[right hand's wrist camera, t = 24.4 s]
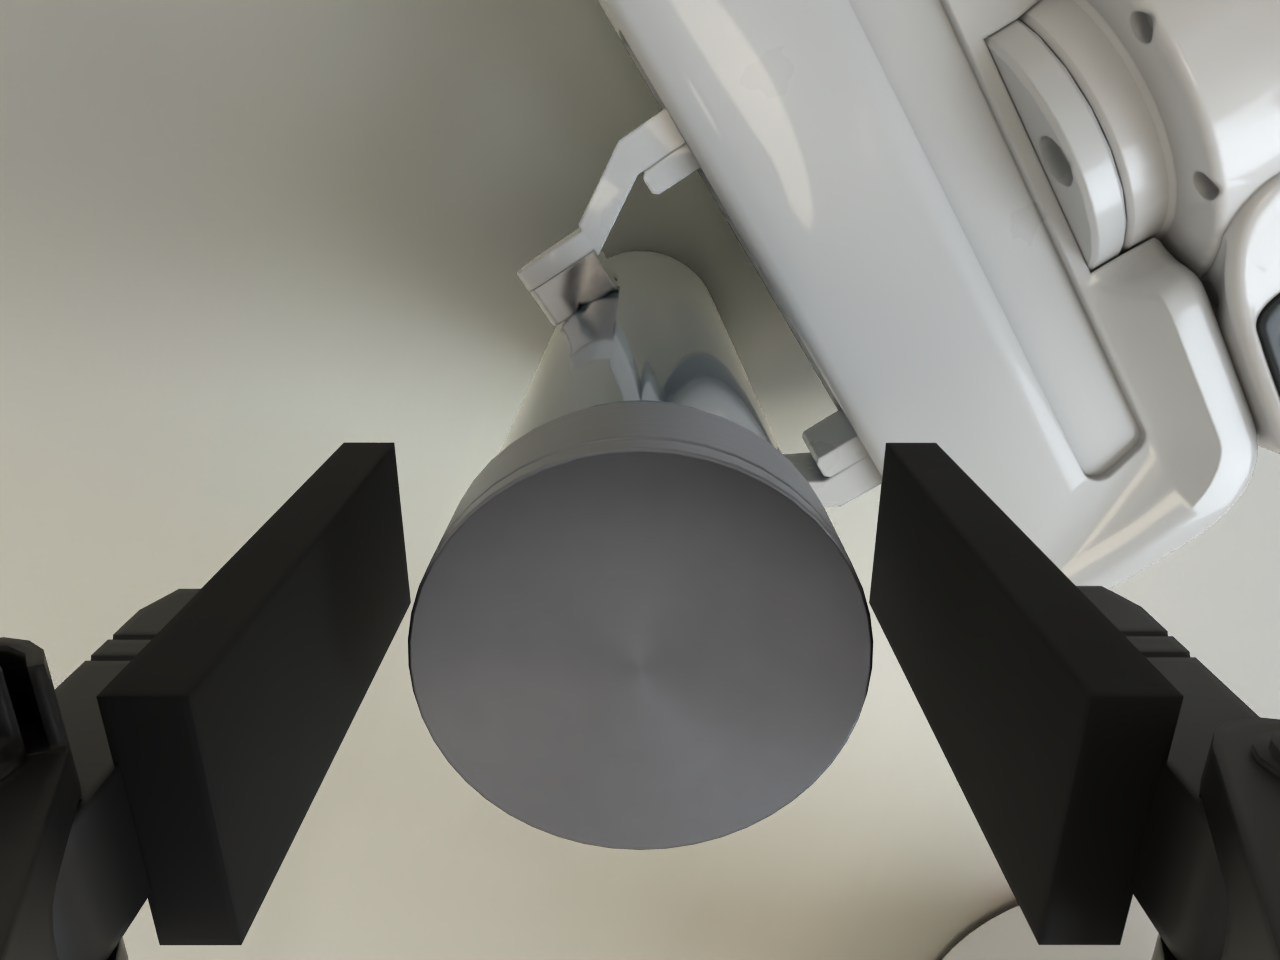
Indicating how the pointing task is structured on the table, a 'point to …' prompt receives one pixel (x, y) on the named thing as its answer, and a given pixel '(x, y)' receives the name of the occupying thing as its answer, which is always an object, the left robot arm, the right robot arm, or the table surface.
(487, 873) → the table surface
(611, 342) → the jar
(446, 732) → the lid
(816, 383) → the table surface
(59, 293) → the table surface
